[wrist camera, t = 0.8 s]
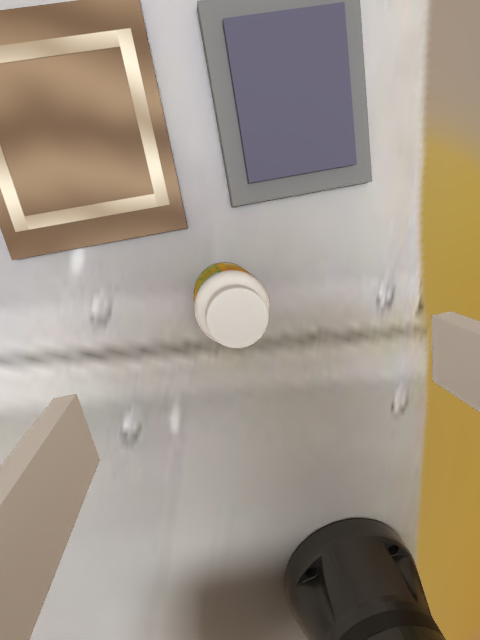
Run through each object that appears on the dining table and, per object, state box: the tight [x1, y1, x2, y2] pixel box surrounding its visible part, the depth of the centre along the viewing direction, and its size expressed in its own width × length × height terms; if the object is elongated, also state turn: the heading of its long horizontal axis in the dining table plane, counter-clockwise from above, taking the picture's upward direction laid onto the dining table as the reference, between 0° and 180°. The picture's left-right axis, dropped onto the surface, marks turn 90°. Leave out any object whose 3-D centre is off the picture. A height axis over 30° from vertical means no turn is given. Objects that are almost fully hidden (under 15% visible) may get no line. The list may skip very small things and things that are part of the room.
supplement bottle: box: [194, 262, 270, 348], centre depth 26 cm, size 5×5×10 cm
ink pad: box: [197, 0, 372, 207], centre depth 27 cm, size 14×12×2 cm
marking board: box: [0, 0, 188, 260], centre depth 26 cm, size 16×14×1 cm
